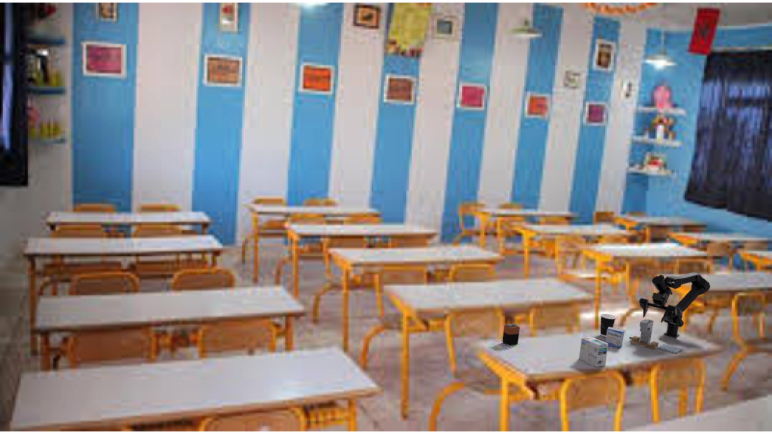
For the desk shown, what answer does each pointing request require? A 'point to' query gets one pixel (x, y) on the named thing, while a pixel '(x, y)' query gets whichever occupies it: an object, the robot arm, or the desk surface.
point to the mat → (669, 348)
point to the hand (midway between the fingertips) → (652, 319)
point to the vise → (637, 341)
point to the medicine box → (614, 337)
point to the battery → (511, 334)
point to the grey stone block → (646, 330)
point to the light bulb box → (593, 351)
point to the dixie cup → (606, 323)
